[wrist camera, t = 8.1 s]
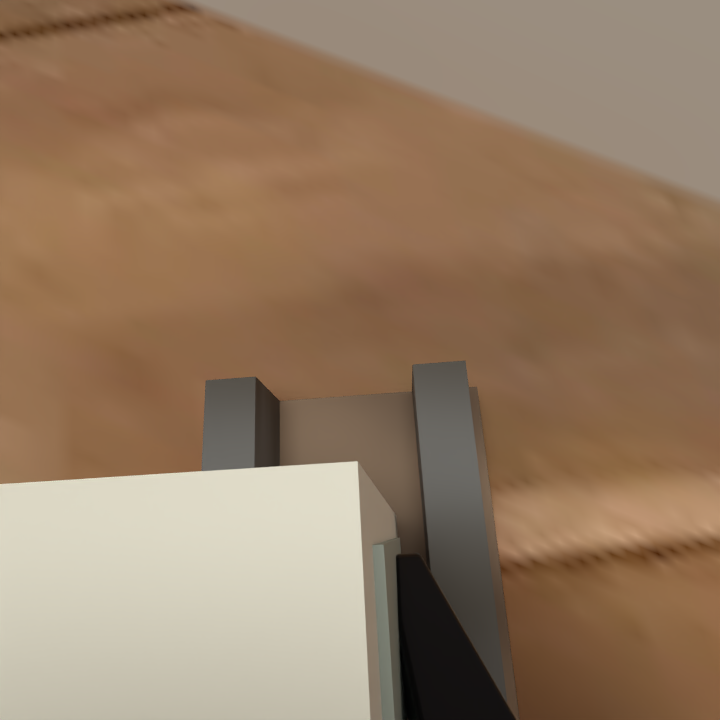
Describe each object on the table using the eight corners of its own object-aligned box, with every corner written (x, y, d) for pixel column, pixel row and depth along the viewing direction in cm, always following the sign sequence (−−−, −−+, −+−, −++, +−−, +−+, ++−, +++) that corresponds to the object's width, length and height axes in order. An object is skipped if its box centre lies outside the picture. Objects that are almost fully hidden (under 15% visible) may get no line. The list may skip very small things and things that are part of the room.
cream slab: (413, 714, 13) (441, 1665, 2) (293, 718, 14) (-257, 1596, 2) (399, 515, 15) (370, 459, 4) (291, 521, 15) (-41, 486, 4)
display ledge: (526, 837, 15) (574, 960, 11) (219, 841, 15) (147, 960, 11) (472, 397, 19) (490, 358, 15) (231, 414, 20) (182, 382, 15)
